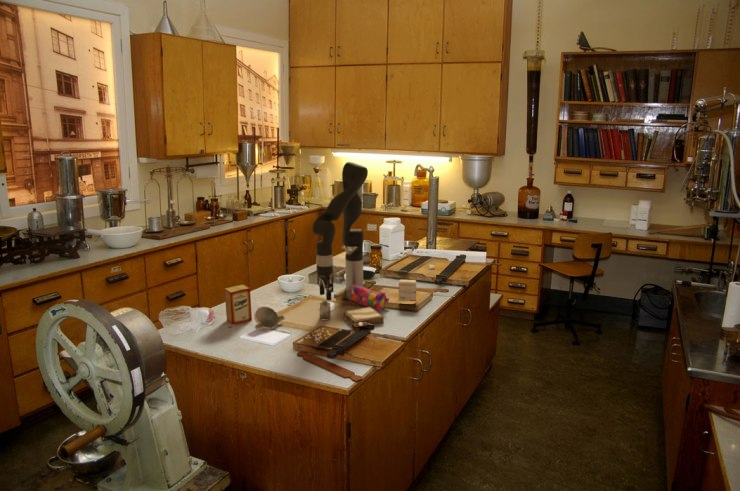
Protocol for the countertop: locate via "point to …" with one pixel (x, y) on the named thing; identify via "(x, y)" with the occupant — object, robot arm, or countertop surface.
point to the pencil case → (366, 297)
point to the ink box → (407, 290)
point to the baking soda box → (238, 304)
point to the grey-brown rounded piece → (266, 318)
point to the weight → (325, 310)
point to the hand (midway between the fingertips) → (325, 297)
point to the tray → (363, 316)
